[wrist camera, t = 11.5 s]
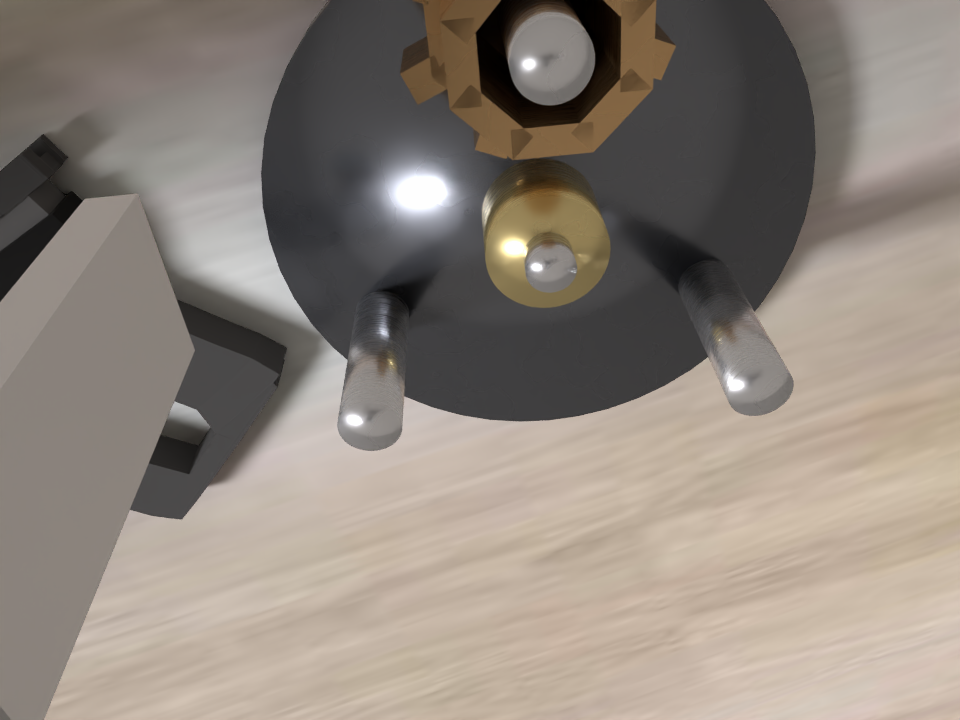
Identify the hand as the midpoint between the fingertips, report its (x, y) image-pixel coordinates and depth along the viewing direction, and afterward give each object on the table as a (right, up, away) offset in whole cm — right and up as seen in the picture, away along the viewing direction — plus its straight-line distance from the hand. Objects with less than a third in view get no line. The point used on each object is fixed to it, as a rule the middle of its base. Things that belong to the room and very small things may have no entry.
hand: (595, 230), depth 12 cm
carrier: (0, +4, +17) cm, 18 cm away
